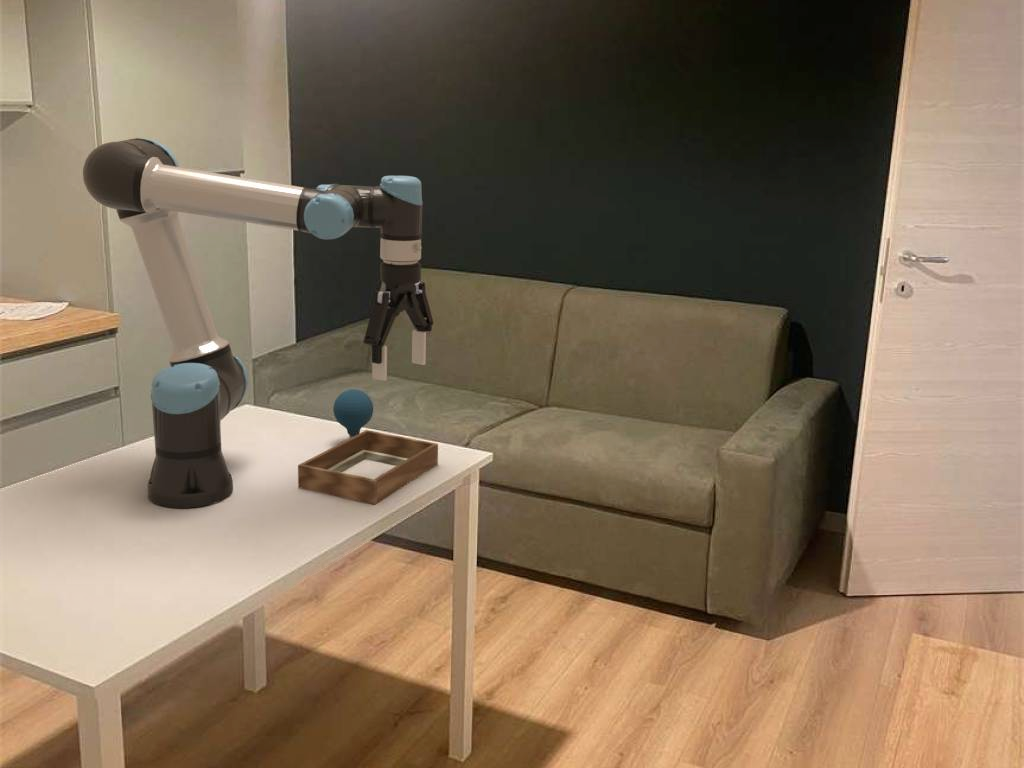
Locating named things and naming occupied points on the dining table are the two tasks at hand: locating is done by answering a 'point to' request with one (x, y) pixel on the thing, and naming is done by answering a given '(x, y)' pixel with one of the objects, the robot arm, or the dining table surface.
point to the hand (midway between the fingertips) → (399, 371)
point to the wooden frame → (376, 446)
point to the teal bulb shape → (353, 410)
